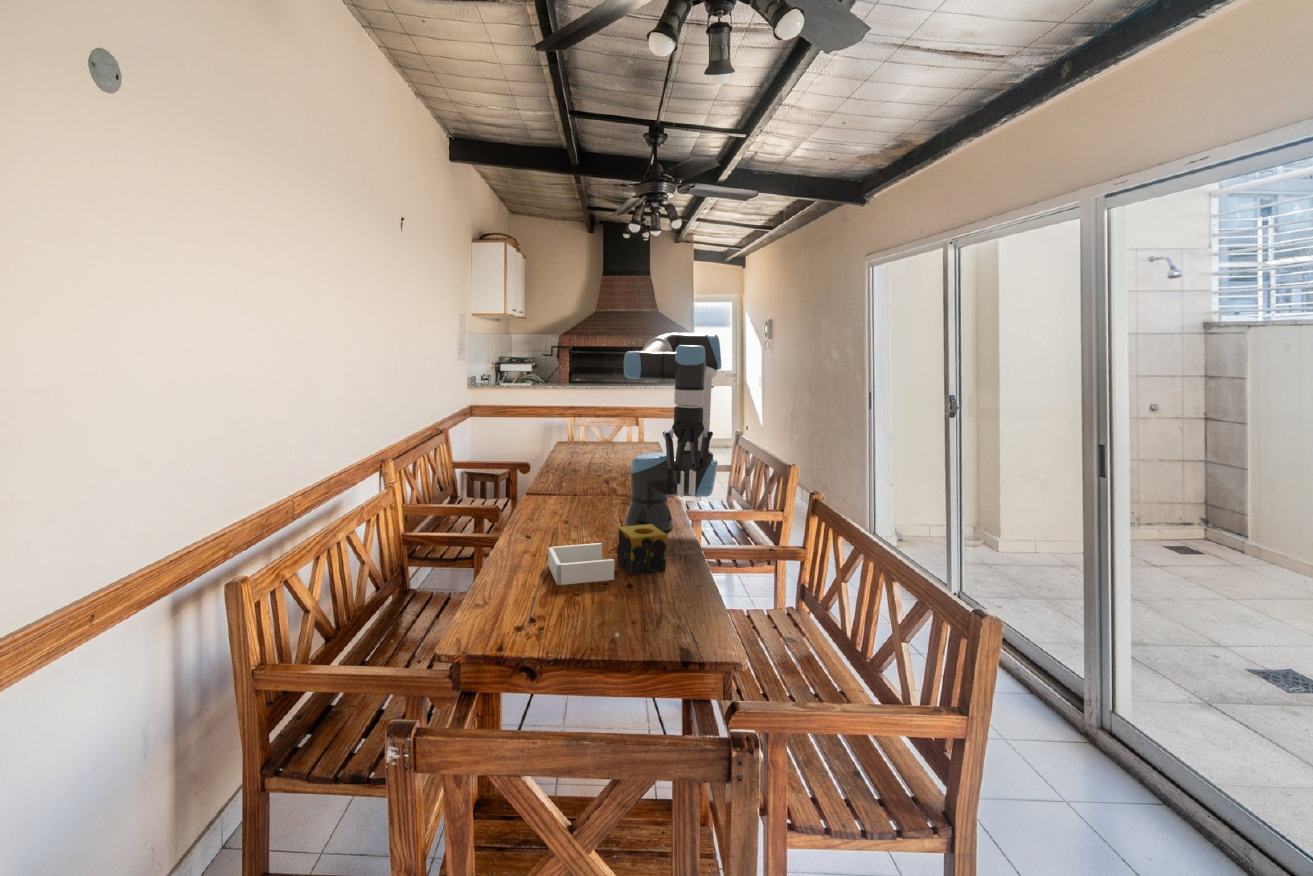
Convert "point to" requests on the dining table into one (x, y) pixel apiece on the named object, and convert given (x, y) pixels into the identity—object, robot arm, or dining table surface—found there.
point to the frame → (579, 564)
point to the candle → (641, 549)
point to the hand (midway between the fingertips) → (686, 495)
